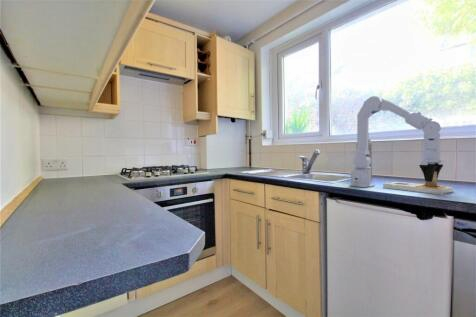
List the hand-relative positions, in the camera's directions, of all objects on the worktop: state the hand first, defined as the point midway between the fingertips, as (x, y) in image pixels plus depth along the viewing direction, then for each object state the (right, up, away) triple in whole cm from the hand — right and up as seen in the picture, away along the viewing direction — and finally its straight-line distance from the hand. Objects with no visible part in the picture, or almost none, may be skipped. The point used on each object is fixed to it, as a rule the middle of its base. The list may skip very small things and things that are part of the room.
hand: (431, 181), depth 99 cm
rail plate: (-3, -4, +5) cm, 7 cm away
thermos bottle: (-7, -4, +39) cm, 40 cm away
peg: (0, -4, 0) cm, 4 cm away
